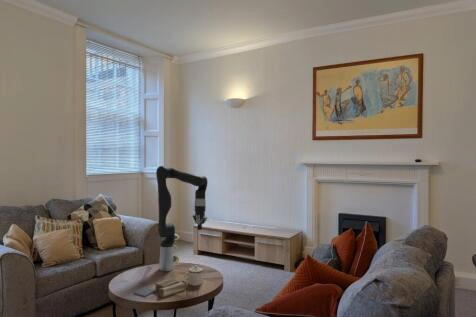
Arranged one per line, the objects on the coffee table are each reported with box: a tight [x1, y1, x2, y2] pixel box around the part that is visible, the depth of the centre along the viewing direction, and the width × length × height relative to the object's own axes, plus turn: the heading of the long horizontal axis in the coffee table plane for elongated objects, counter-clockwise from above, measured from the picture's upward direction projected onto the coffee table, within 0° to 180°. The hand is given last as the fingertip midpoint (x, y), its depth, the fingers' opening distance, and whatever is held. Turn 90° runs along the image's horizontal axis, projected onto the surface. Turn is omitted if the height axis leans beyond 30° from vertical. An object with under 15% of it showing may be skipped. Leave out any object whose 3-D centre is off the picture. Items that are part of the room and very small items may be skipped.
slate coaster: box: [133, 287, 156, 298], centre depth 202 cm, size 9×9×1 cm
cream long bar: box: [158, 280, 187, 298], centre depth 203 cm, size 3×18×5 cm, turn 139°
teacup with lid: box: [183, 264, 204, 287], centre depth 218 cm, size 12×9×12 cm
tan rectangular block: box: [154, 277, 180, 293], centre depth 207 cm, size 8×12×5 cm, turn 140°
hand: (199, 229), depth 232 cm, fingers closed
